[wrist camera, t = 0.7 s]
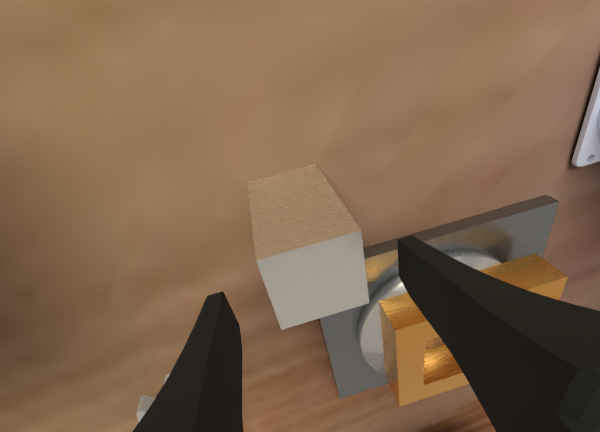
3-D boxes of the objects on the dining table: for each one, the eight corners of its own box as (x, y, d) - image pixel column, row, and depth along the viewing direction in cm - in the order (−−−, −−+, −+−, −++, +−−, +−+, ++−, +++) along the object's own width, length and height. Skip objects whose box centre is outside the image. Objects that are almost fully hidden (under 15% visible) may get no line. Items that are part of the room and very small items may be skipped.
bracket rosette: (546, 194, 22) (613, 228, 18) (509, 333, 30) (549, 375, 26) (305, 265, 21) (322, 317, 17) (337, 388, 29) (353, 441, 25)
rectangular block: (315, 163, 17) (361, 230, 11) (326, 221, 19) (369, 302, 13) (247, 182, 17) (256, 260, 11) (265, 238, 19) (281, 329, 13)
